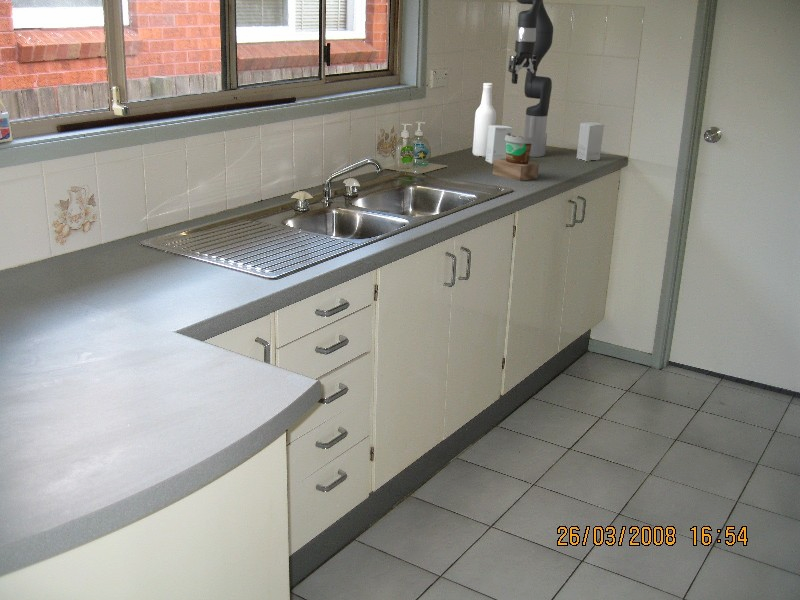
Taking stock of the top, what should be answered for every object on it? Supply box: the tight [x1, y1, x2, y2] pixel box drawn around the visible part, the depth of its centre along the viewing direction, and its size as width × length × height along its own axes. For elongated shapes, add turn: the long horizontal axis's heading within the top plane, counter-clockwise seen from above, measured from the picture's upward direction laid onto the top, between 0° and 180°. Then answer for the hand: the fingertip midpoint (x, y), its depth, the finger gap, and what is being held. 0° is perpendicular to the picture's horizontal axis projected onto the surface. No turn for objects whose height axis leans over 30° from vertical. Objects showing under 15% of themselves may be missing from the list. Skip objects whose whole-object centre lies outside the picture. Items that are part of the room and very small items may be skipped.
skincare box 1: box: [485, 124, 513, 165], centre depth 358 cm, size 8×6×15 cm
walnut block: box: [492, 158, 540, 182], centre depth 335 cm, size 10×14×6 cm
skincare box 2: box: [576, 121, 605, 162], centre depth 372 cm, size 8×7×16 cm
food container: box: [505, 133, 533, 164], centre depth 331 cm, size 12×6×10 cm, turn 41°
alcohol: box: [471, 82, 497, 158], centre depth 369 cm, size 9×9×30 cm
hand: (521, 83), depth 340 cm, fingers open, 8 cm apart
